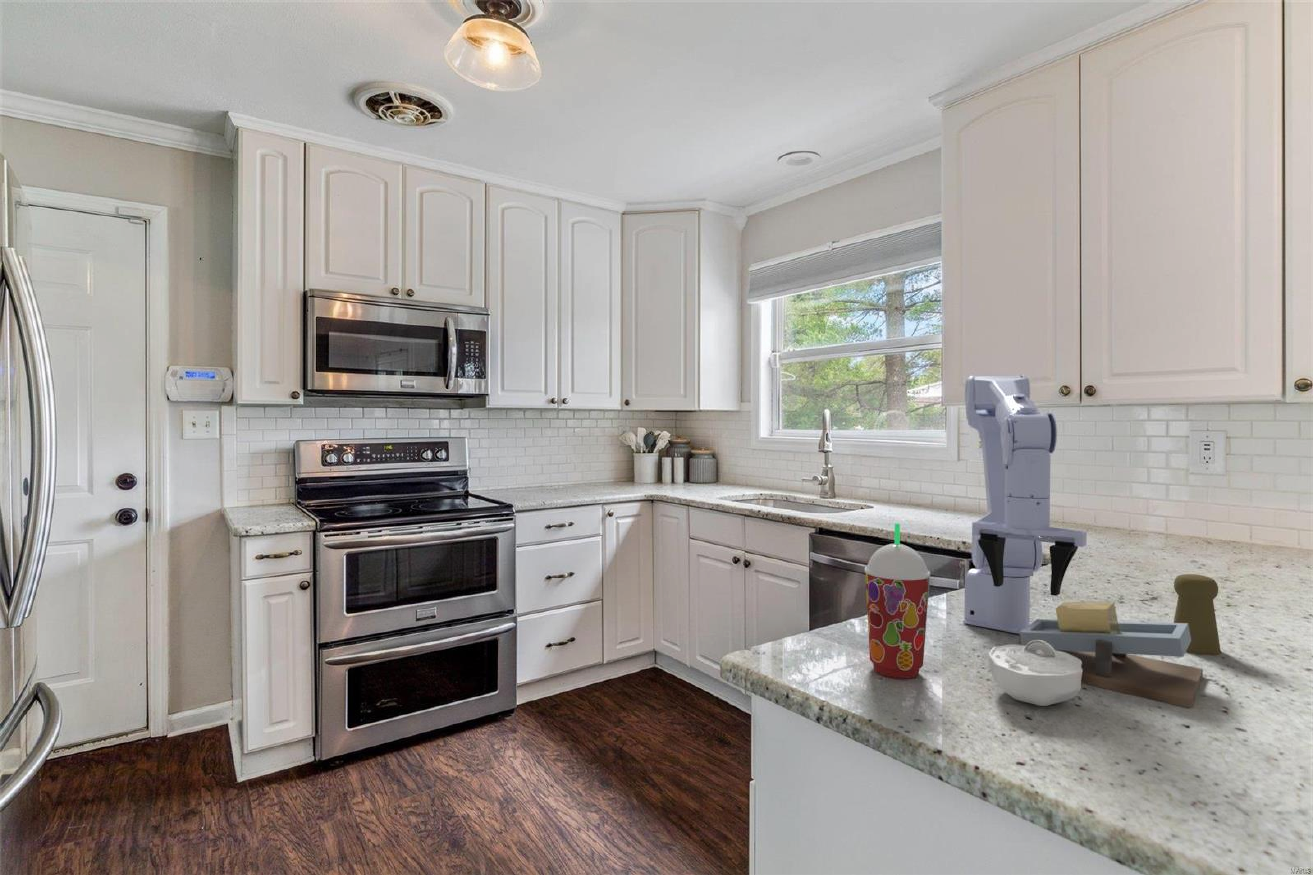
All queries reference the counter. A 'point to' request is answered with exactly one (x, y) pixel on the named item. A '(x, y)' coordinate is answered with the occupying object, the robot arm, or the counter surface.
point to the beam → (1115, 638)
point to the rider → (1087, 617)
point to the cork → (1198, 612)
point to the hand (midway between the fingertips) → (1026, 589)
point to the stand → (1139, 675)
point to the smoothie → (897, 609)
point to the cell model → (1036, 672)
